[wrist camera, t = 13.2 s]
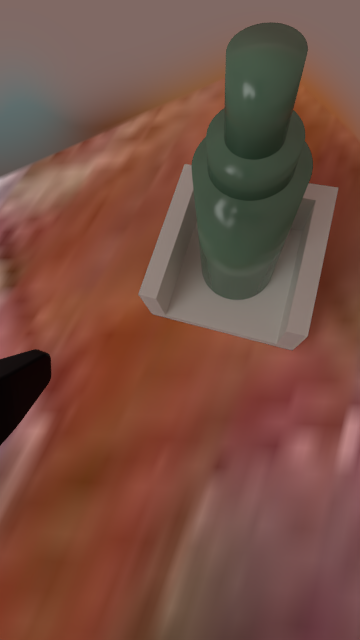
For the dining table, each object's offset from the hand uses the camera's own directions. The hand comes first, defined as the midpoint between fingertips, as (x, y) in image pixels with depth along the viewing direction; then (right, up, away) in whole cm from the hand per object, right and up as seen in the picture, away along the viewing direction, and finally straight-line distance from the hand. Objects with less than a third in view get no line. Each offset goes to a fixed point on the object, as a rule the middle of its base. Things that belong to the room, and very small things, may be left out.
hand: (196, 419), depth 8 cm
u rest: (+4, +6, +16) cm, 17 cm away
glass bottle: (+4, +7, +15) cm, 17 cm away
